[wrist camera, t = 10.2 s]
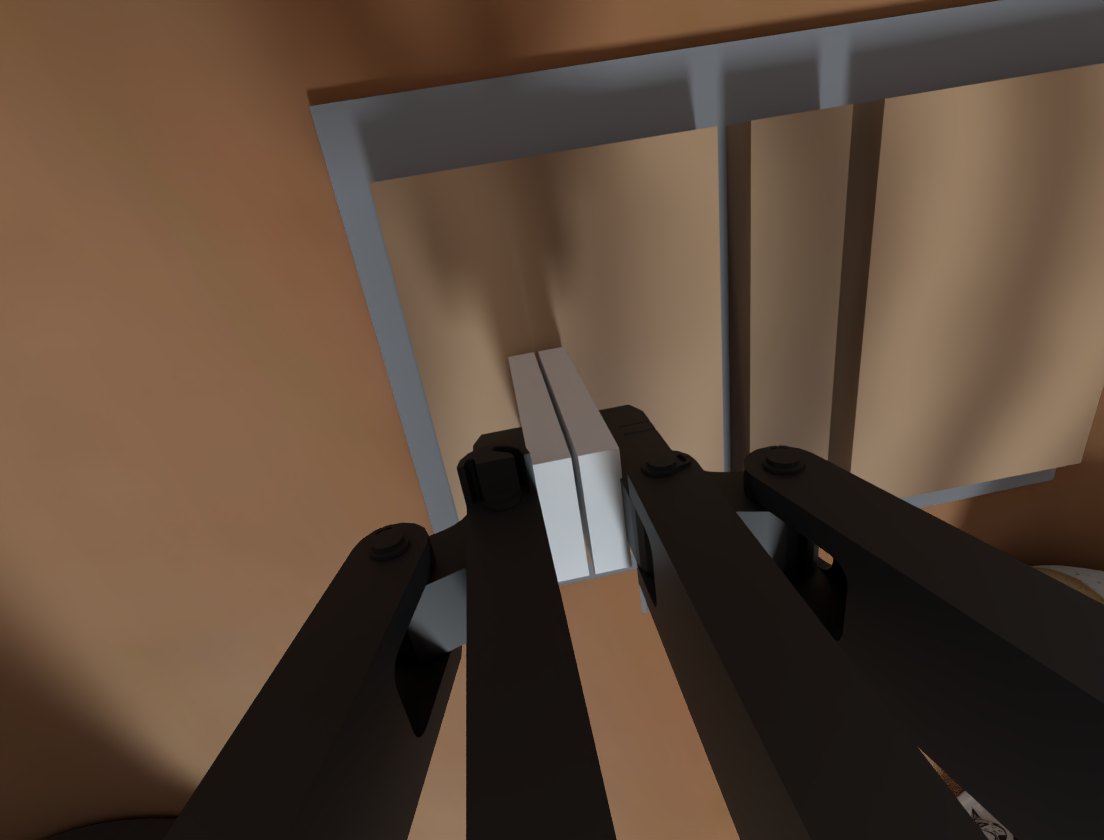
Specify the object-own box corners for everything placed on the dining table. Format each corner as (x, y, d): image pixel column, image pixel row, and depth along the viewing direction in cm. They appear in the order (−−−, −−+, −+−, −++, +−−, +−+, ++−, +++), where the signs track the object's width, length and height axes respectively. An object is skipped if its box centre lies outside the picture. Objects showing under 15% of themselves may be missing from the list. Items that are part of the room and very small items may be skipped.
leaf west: (476, 560, 20) (476, 585, 19) (378, 182, 15) (369, 183, 14) (710, 512, 21) (725, 534, 19) (697, 130, 15) (717, 125, 14)
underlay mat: (456, 602, 21) (456, 607, 21) (312, 107, 14) (308, 106, 14) (1046, 476, 23) (1053, 479, 23) (1180, -26, 16) (1193, -29, 15)
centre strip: (731, 506, 21) (749, 529, 19) (726, 125, 15) (750, 120, 14) (801, 492, 21) (823, 513, 20) (820, 110, 16) (853, 104, 14)
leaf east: (825, 488, 21) (847, 508, 20) (852, 105, 16) (885, 98, 14) (1045, 445, 21) (1080, 463, 20) (1146, 57, 16) (1203, 46, 15)
